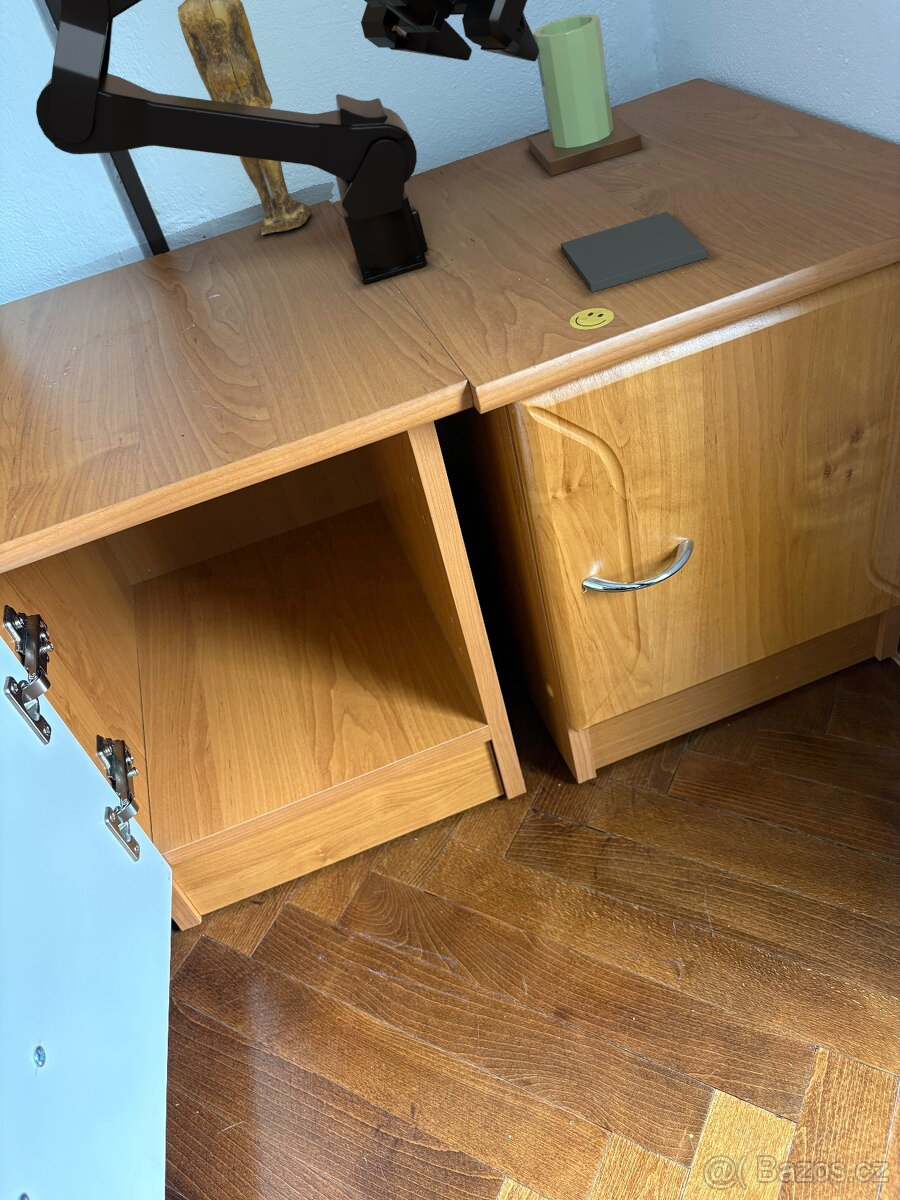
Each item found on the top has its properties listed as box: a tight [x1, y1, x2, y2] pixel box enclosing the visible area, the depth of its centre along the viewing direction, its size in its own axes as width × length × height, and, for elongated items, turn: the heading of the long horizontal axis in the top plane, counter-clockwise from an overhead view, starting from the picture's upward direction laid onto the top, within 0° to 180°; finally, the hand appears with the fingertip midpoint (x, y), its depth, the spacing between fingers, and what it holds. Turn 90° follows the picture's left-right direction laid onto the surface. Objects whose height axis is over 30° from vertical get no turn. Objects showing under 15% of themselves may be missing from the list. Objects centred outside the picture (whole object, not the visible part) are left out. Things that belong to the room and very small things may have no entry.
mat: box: [560, 211, 708, 293], centre depth 87 cm, size 10×10×1 cm
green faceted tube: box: [532, 13, 613, 148], centre depth 106 cm, size 7×7×11 cm
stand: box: [527, 111, 643, 177], centre depth 109 cm, size 10×10×6 cm
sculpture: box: [177, 0, 313, 236], centre depth 105 cm, size 7×6×30 cm
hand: (502, 55), depth 96 cm, fingers open, 9 cm apart
